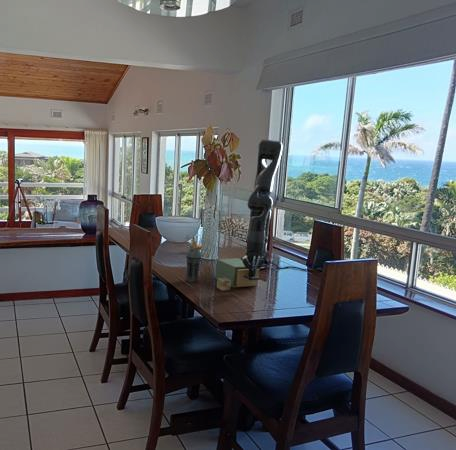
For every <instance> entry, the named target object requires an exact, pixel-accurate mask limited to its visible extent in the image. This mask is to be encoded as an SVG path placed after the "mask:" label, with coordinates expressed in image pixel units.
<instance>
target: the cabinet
mask: <svg viewBox="0 0 456 450" xmlns="http://www.w3.org/2000/svg"><path fill="white" fill-rule="evenodd" d="M239 268H245V266H244V264H243V262H242V260H241V258H238V257H237V258H236V257H234V258H217V259H216V264H215V275H214V279H215V280H217V278H227V279H229V280H231V287H230V288H237V287H236V285H235V275H236V269H239ZM244 287H245V288H246V286H244ZM244 287H243V288H244Z"/></svg>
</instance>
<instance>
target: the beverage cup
mask: <svg viewBox="0 0 456 450" xmlns="http://www.w3.org/2000/svg"><path fill="white" fill-rule="evenodd" d="M195 241H196V240H195V238H194V239H193V244H194V245H193V244H192V245H193V248H192V249H191V248H190V249H189V250H188V251H187V253H186V256H185V257H186V281H187V282H188V283H197V282H198V278H199V273H200V266H201V262H202V259H203V255H202V251H201V250H199V249H197V248H195Z"/></svg>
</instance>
